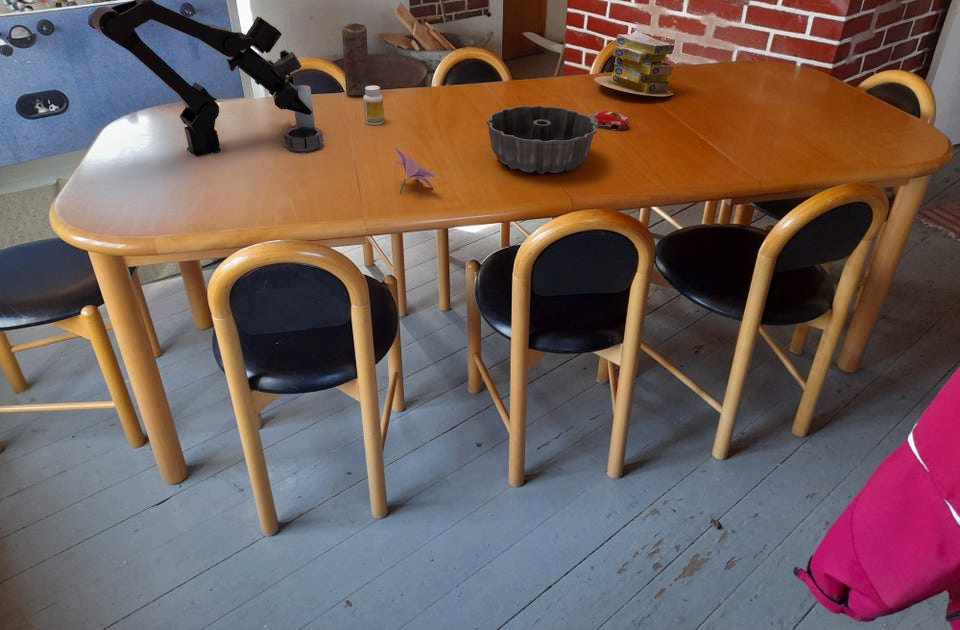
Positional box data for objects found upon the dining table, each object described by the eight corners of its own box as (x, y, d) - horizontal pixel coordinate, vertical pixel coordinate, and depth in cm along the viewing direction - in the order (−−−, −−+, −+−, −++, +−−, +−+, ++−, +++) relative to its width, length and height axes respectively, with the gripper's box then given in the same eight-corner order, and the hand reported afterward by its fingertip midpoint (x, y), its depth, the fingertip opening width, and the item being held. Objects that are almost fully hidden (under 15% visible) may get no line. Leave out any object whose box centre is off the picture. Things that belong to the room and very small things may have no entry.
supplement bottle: (361, 121, 194) (358, 86, 188) (377, 117, 197) (375, 83, 191) (371, 126, 190) (369, 91, 185) (388, 122, 193) (386, 88, 188)
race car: (577, 126, 194) (579, 112, 191) (583, 120, 198) (585, 106, 195) (624, 133, 189) (626, 118, 187) (629, 127, 193) (631, 112, 191)
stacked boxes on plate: (637, 76, 233) (644, 24, 224) (689, 96, 216) (699, 40, 206) (577, 86, 223) (582, 32, 214) (627, 108, 206) (635, 50, 196)
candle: (373, 91, 217) (368, 23, 205) (368, 99, 211) (362, 29, 199) (349, 90, 217) (343, 22, 206) (343, 97, 211) (336, 28, 200)
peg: (303, 137, 183) (296, 92, 176) (294, 132, 186) (287, 87, 179) (319, 133, 186) (313, 88, 179) (310, 128, 189) (304, 84, 182)
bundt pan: (563, 137, 186) (566, 99, 180) (613, 174, 166) (618, 133, 160) (471, 149, 178) (471, 110, 172) (511, 189, 158) (513, 147, 152)
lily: (437, 205, 153) (449, 162, 151) (386, 190, 148) (398, 146, 147) (421, 199, 164) (433, 159, 162) (374, 185, 159) (385, 144, 157)
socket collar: (297, 155, 173) (295, 141, 171) (280, 145, 178) (278, 131, 176) (329, 147, 178) (327, 133, 176) (311, 137, 183) (309, 124, 181)
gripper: (281, 52, 164) (333, 95, 173) (274, 34, 179) (323, 74, 188) (252, 88, 167) (305, 129, 176) (248, 68, 181) (297, 106, 190)
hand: (308, 108), depth 182 cm, fingers open, 8 cm apart
